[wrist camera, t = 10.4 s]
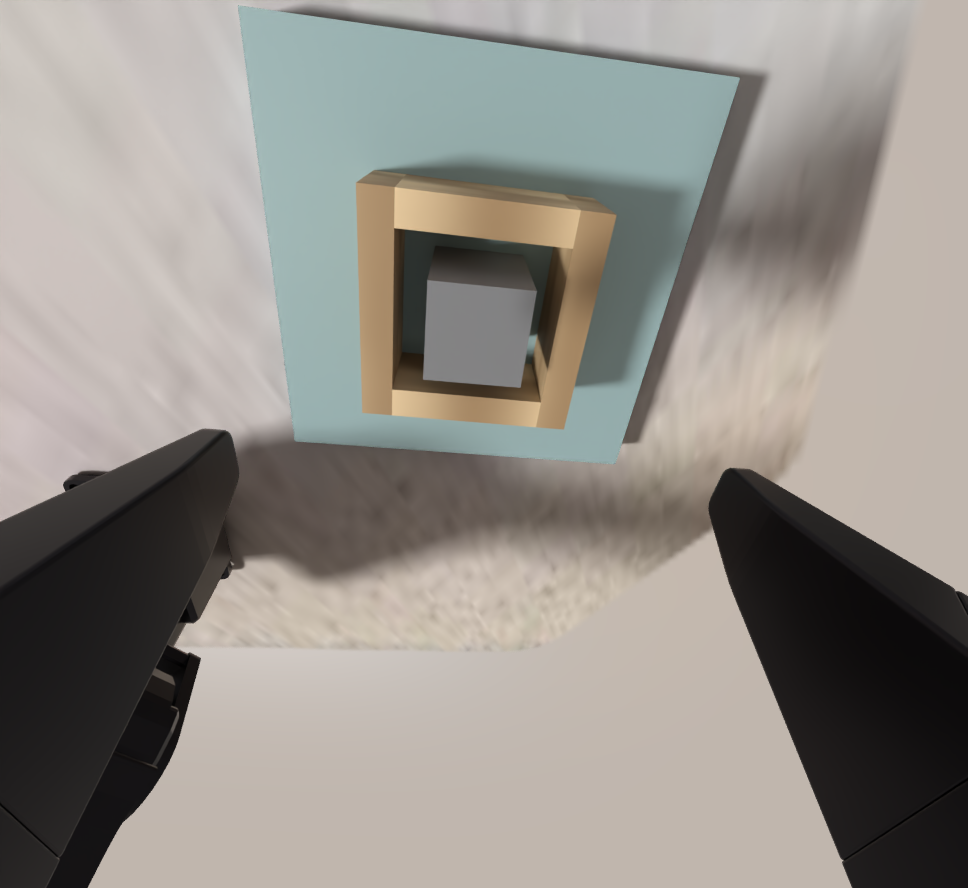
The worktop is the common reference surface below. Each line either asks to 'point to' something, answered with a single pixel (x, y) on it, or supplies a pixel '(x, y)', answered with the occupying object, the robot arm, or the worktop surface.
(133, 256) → the worktop surface
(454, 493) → the worktop surface
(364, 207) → the square frame
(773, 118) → the worktop surface
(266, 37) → the post board
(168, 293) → the worktop surface
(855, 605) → the robot arm
